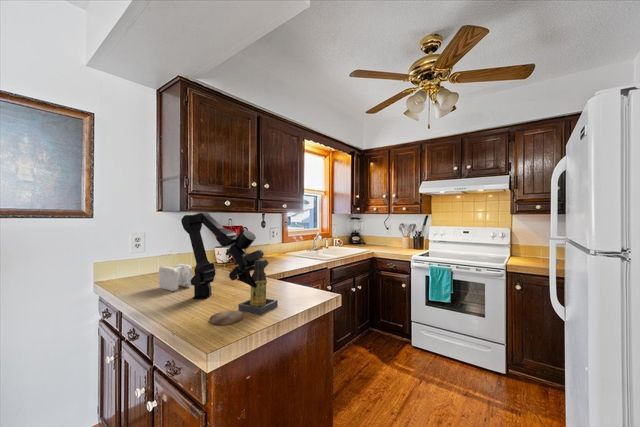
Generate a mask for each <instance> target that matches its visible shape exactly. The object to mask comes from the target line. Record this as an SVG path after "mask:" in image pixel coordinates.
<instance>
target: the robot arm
mask: <svg viewBox="0 0 640 427" xmlns="http://www.w3.org/2000/svg"><path fill="white" fill-rule="evenodd" d="M203 225H204V226H205V227H206V228H207V229H208V230H209V231H210V232H211V233H212V234H213V235H215V238H216V241H217V243H218V244H219V245H220V246H221V247H223V248H225V247H229V248H227V249H226V251H225V256H231V257H232V259H233V260H234V261H235V262H234V265H235V266H234V267H233V269H232V270H231V271H230V273H229V275H228V277H229V279H230V280H231V281H232V282H233V281H235V280H236V281H237V282H239V281H240V282H241V283H244V284H246V285H249V286H250V287H251V286H252V287H254V288H256V287H257V285H256V283H255V282H254V280H253V279H252V275H251V272H254V269H255V264H254V260H257V259H263V258H264V257H263V256H264V251H263V250H262V249H261V248H260V249H256V250H255V251H252V252H247V251H246V250H247V249H249V248H250V246H252V244H253V243H254V242H255V240H256V239H257V238H256V235H255V234H254V233H253V232H251V231H249V230H248V229H247V228H243V229H242V230H241V231H240V233H239V234H237V232H234V231H232V230H230V229H227V228H225V227H224V226H222V225H221V224H220V223H219V222H218V221H217V220H216V219H215V218H214V217H213V216H211V214H210V213H208V212H198V213H196V214H184V215H183V216H182V218H181V226H182V227H183V230H184V231H185V232H186V233H187V234H188V235H189V240H190V243H191V247H192V252H193V254H194V255H193V256H194V260H195V263H196V264H195V267H194V275H193V276H192V279H191V285H192V286H194V288H193V289H194V296H193V297H192V299H193V300H196V299H197V300H200V299H203V300H204V299H208V298H210V296H212V295H213V294H212V285H211V283H213V282H214V280H215V276H216V269H215V264H214V262H210V261H209V260H208V256H207V252H206V248H205V245H204V241H203V237H202V233H201V231H202V227H203ZM263 260H264V269H265V268H266V267H267V266H269V261H267V259H263ZM267 283H268V281H267V279H266V284H267Z"/></svg>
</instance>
